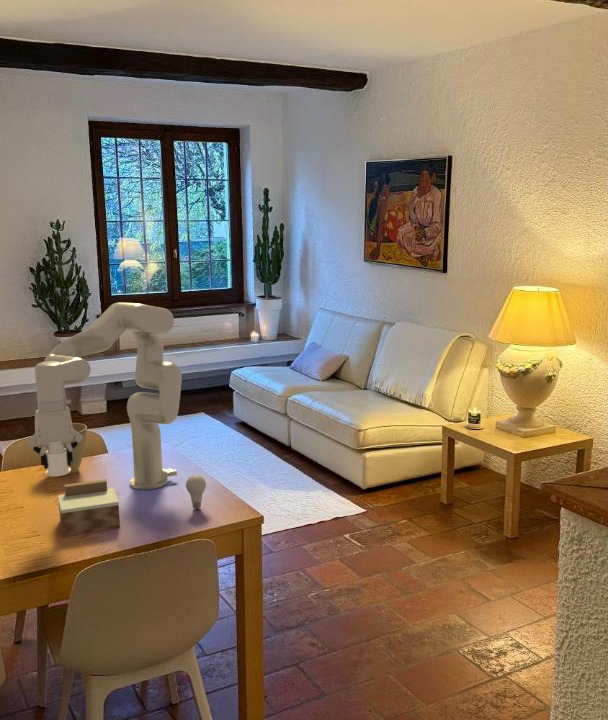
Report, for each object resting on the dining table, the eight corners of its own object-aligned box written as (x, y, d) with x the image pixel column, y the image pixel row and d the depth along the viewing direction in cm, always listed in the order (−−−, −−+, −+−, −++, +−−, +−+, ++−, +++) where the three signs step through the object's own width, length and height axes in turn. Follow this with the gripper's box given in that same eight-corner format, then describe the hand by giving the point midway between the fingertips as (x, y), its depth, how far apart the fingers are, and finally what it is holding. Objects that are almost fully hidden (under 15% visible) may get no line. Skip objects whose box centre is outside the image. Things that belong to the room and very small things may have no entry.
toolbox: (114, 512, 228) (113, 491, 226) (120, 527, 217) (118, 505, 215) (60, 520, 222) (58, 498, 221) (62, 536, 211) (61, 513, 210)
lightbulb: (210, 506, 232) (209, 473, 229) (201, 514, 226) (200, 480, 224) (192, 504, 234) (191, 471, 231) (183, 511, 228) (182, 477, 226)
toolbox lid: (113, 490, 226) (112, 478, 225) (118, 505, 215) (117, 492, 214) (58, 498, 221) (57, 485, 220) (61, 513, 210) (60, 500, 209)
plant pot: (82, 478, 256) (79, 434, 253) (39, 479, 257) (36, 434, 254) (94, 464, 271) (92, 422, 268) (54, 464, 271) (51, 422, 268)
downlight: (50, 467, 218) (47, 435, 215) (74, 466, 218) (71, 434, 216) (41, 478, 210) (38, 445, 208) (66, 477, 210) (63, 444, 208)
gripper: (81, 398, 217) (86, 457, 220) (18, 405, 210) (24, 466, 214) (85, 404, 210) (89, 465, 214) (20, 412, 203) (26, 474, 207)
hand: (57, 465), depth 214 cm, fingers closed on downlight, 5 cm apart
